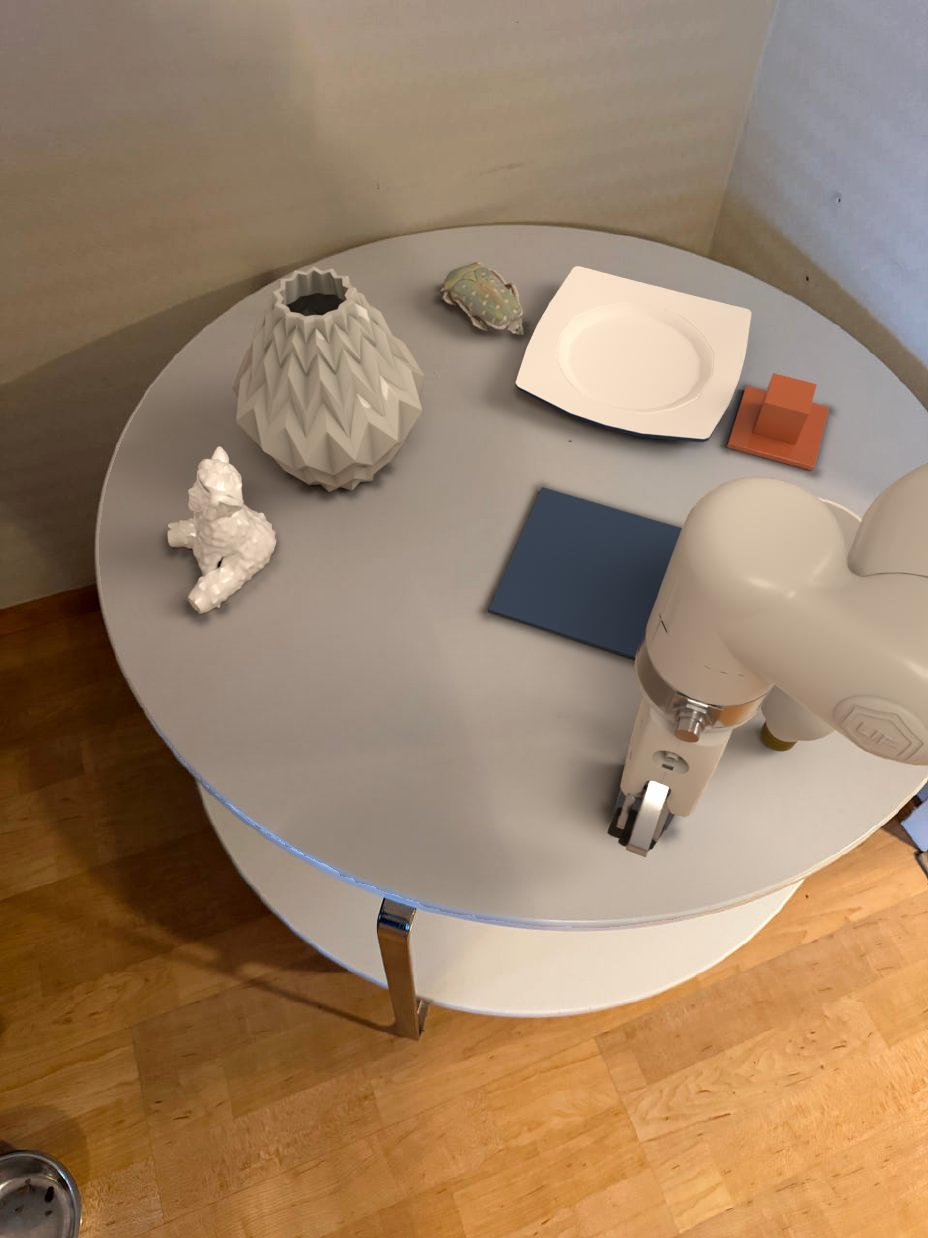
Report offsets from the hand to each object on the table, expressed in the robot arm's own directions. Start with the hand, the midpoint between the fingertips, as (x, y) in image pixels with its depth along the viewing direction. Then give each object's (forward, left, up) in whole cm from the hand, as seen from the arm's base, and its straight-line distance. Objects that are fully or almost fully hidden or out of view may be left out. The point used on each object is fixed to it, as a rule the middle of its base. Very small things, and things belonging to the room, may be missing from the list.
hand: (648, 776), depth 67 cm
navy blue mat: (+9, -18, -4) cm, 20 cm away
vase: (+35, -22, -4) cm, 41 cm away
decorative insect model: (+29, -46, -4) cm, 55 cm away
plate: (+13, -43, -4) cm, 45 cm away
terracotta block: (-2, -40, -3) cm, 40 cm away
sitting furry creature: (+38, -8, -4) cm, 39 cm away
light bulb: (-8, -8, -4) cm, 12 cm away
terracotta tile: (-3, -40, -4) cm, 40 cm away
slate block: (0, 0, -4) cm, 4 cm away
